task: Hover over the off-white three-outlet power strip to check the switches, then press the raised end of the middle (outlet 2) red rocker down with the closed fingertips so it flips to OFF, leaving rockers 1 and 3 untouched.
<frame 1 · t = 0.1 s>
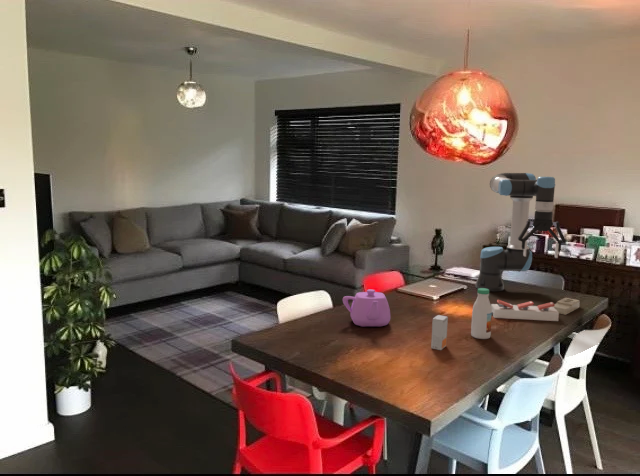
hand: (540, 256, 243), 28 cm above the table, fingers open, 13 cm apart
skincare box: (438, 347, 205), on the table
power strip: (523, 316, 245), on the table
milk bottle: (480, 336, 218), on the table
rocker 3: (545, 305, 242), point 6 cm above the table, hinge at 18.0°
rocker 2: (525, 304, 243), point 6 cm above the table, hinge at 18.0°
electrical outlet: (564, 310, 258), on the table
rocker 1: (505, 303, 244), point 6 cm above the table, hinge at -18.0°
teapot: (370, 324, 233), on the table
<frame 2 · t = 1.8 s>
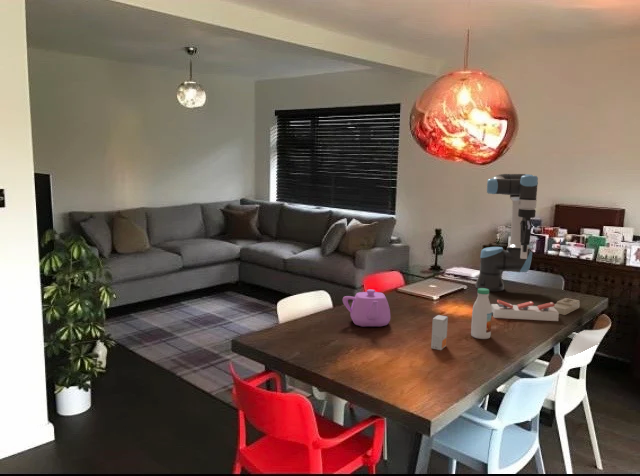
hand: (523, 258, 250), 26 cm above the table, fingers closed
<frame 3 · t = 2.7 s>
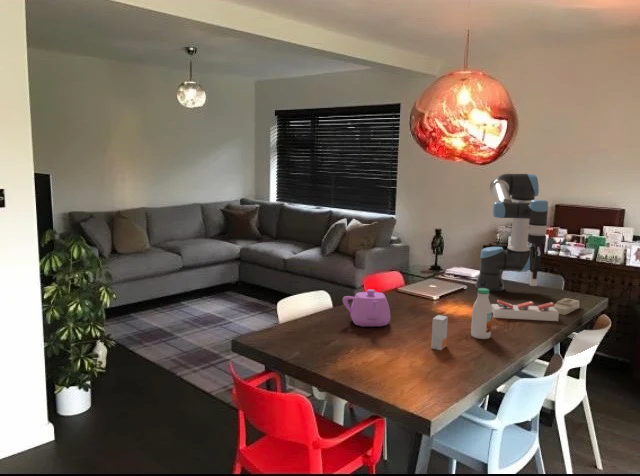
hand: (533, 285, 241), 15 cm above the table, fingers closed
nothing on the table moved.
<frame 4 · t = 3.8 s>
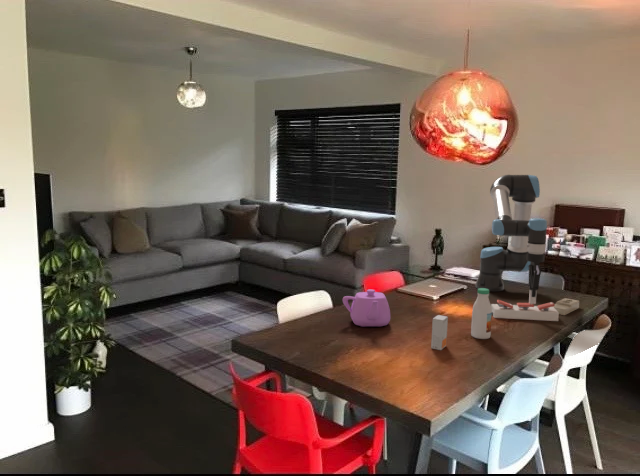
hand: (532, 303, 242), 7 cm above the table, fingers closed
rocker 2: (525, 304, 243), point 6 cm above the table, hinge at 2.0°, touching gripper
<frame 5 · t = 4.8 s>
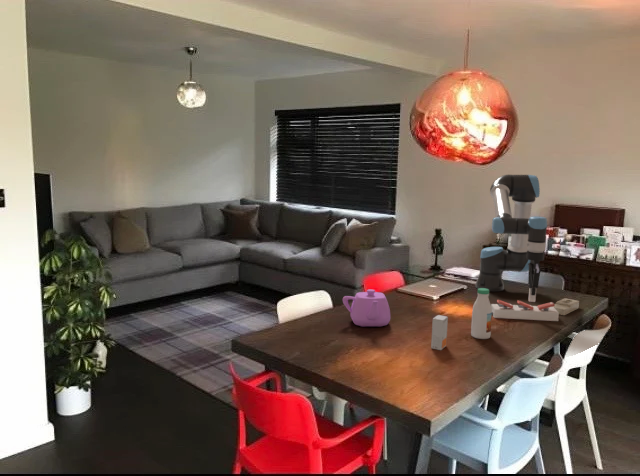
hand: (531, 301, 243), 8 cm above the table, fingers closed
rocker 2: (525, 304, 243), point 6 cm above the table, hinge at -20.7°
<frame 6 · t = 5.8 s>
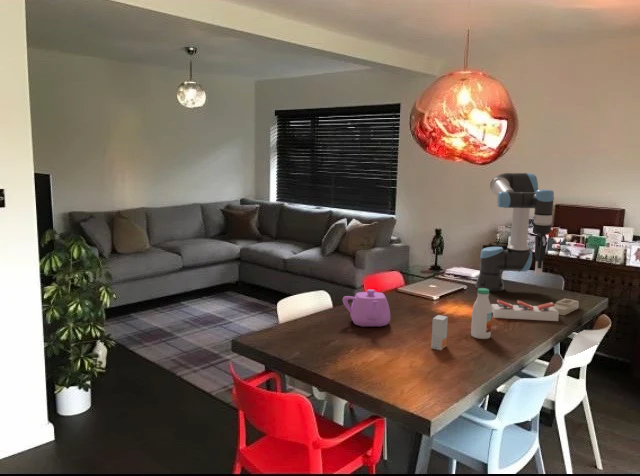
hand: (538, 274, 243), 20 cm above the table, fingers closed
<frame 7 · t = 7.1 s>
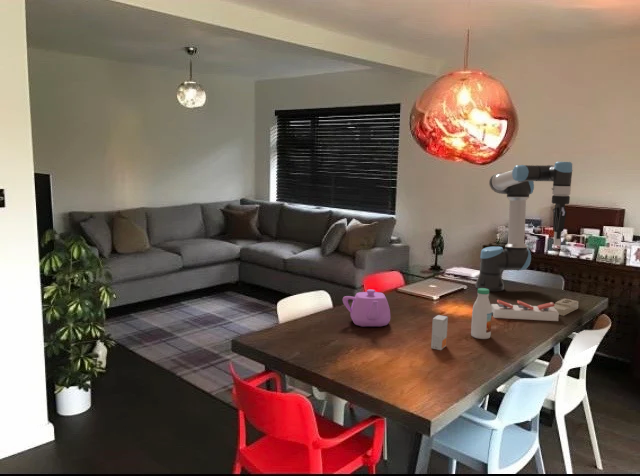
hand: (556, 245, 248), 32 cm above the table, fingers closed
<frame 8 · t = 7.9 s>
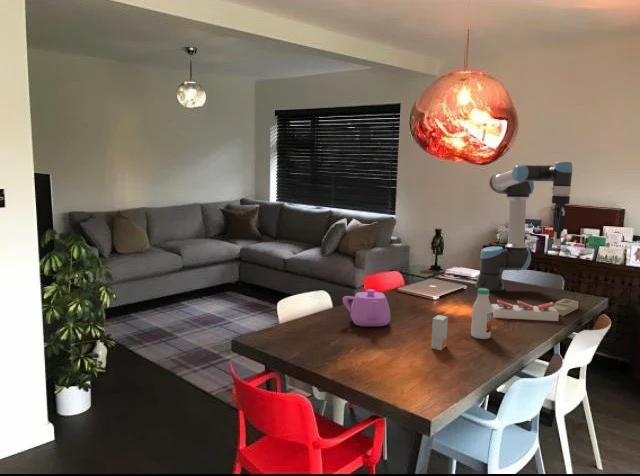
hand: (556, 245, 248), 32 cm above the table, fingers closed
at the end: rocker 2 at -21° (first picture: +18°); rocker 3 at +18° (first picture: +18°); rocker 1 at -18° (first picture: -18°) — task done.
